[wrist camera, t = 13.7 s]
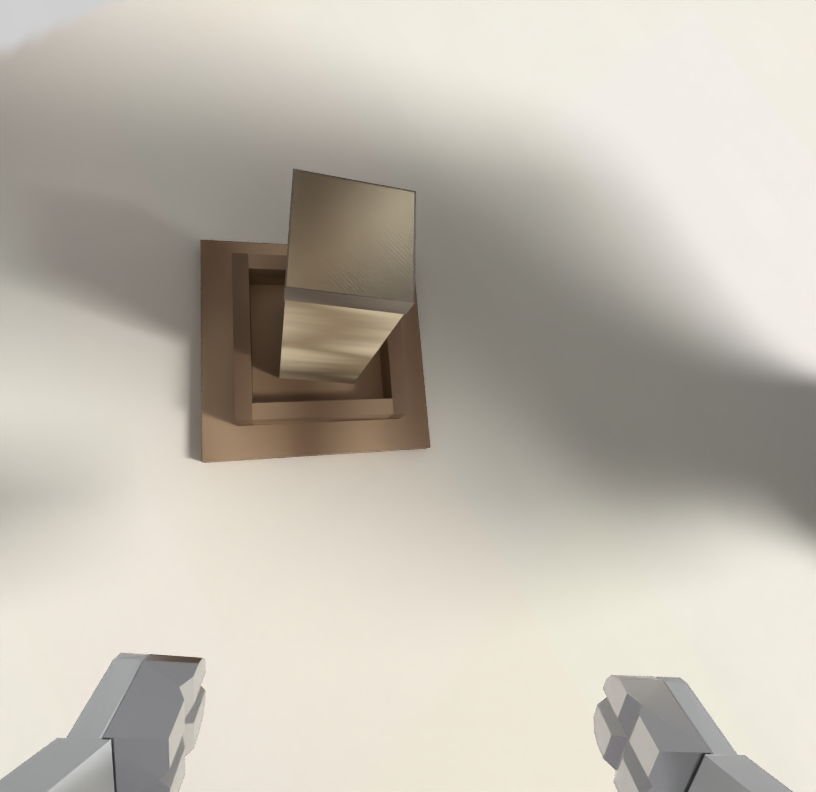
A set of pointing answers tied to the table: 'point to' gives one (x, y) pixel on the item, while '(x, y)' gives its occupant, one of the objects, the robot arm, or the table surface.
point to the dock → (290, 398)
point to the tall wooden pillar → (344, 274)
